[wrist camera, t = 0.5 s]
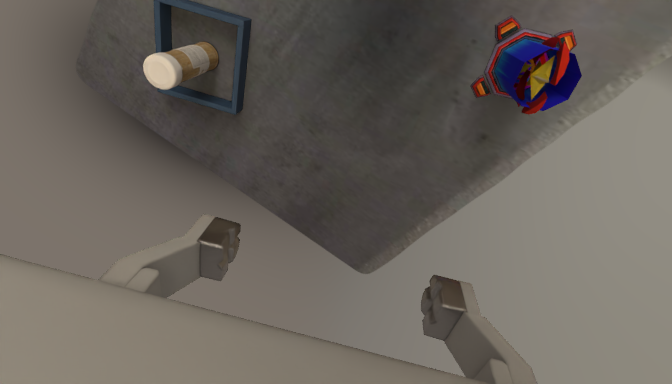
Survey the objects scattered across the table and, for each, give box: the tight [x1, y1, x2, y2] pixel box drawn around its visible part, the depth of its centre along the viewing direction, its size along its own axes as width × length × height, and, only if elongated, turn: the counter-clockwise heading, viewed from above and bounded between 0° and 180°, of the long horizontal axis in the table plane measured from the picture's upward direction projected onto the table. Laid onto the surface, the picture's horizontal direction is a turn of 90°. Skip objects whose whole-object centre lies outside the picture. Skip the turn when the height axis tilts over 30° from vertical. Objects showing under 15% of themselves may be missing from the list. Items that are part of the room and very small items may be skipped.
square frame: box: [154, 0, 251, 115], centre depth 54 cm, size 15×14×3 cm
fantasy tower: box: [471, 16, 582, 114], centre depth 44 cm, size 12×12×12 cm
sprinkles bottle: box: [143, 42, 218, 90], centre depth 49 cm, size 5×5×13 cm
